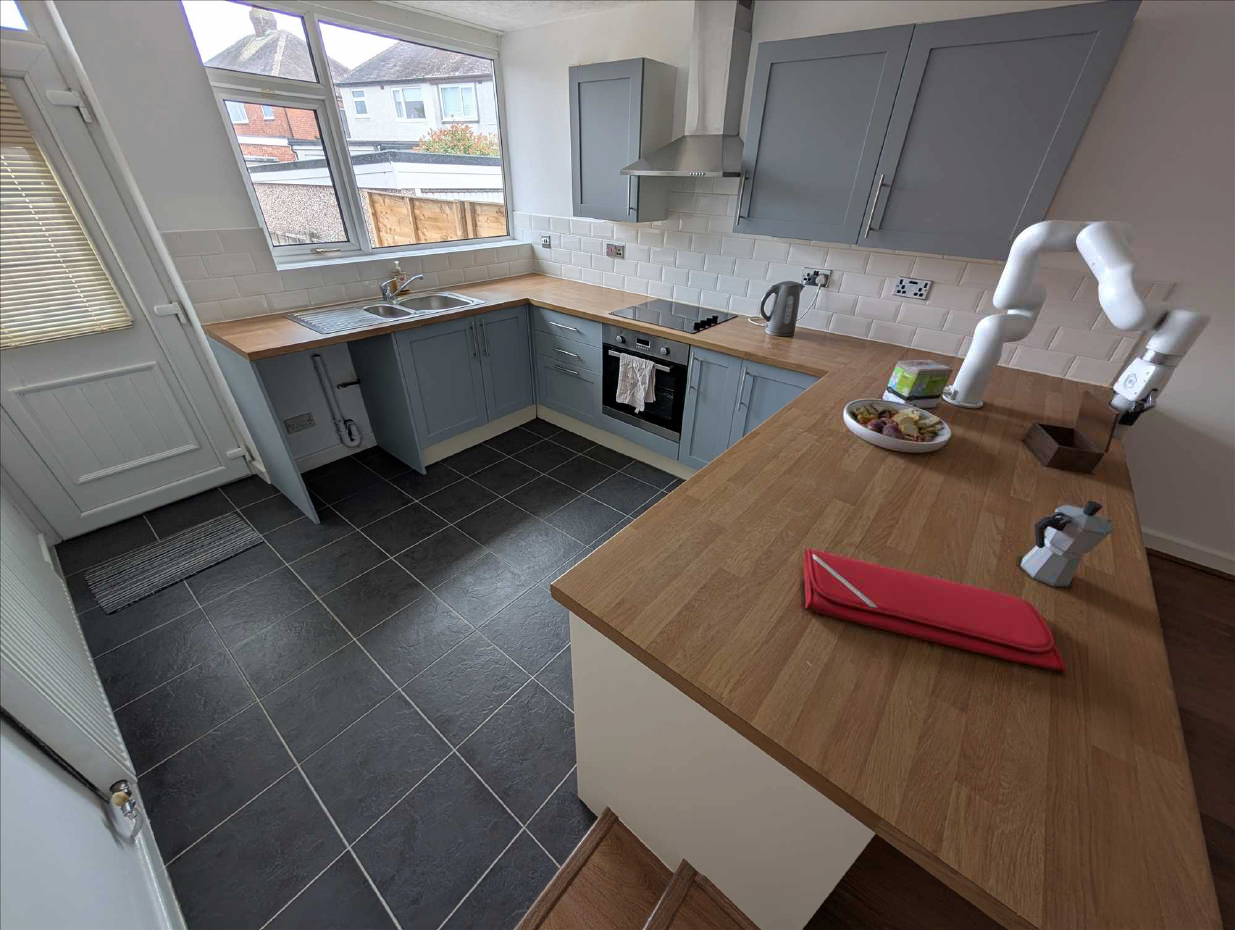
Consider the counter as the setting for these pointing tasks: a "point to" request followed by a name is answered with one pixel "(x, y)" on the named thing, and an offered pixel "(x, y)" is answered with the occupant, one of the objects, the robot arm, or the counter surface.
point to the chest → (1063, 447)
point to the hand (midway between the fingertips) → (1117, 418)
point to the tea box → (917, 383)
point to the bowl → (896, 425)
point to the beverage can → (1121, 413)
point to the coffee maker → (1065, 542)
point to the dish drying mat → (929, 609)
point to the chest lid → (1096, 420)
